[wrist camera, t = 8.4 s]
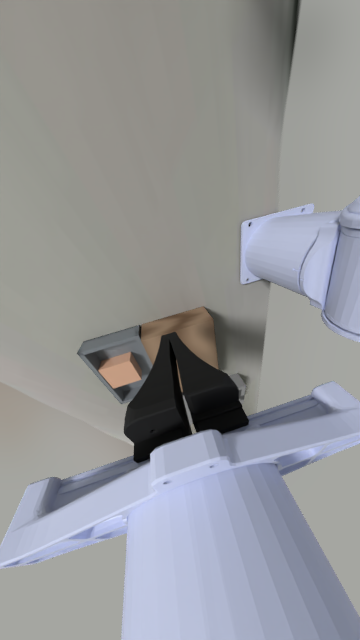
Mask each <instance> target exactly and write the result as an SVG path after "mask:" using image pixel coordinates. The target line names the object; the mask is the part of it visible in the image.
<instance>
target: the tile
mask: <svg viewBox="0 0 360 640" xmlns="http://www.w3.org/2000/svg"><path fill="white" fill-rule="evenodd" d="M98 371H99V373H100V374H101V375H102V376H103V377H104V378H105V379H106V381H107V382H108V383H109V384H110V385H111V386H112V388H113V389H114V388H117V387H120V386H123V385H126V384H129V383H132V382H136V381H139V380H142V370H141V368H140V366H139V365H138V363H137V361H136V360H135V358H134V356H133V355H132V353H131V352H128V353H125V354H122V355H119V356H115V357H112V358H109V359H106V360H103V361H101V363H100V366H99V369H98Z"/></svg>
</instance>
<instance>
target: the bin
mask: <svg viewBox="0 0 360 640" xmlns="http://www.w3.org/2000/svg"><path fill="white" fill-rule="evenodd" d="M128 352H131V353H132V355H133V356H134V358H135V360H136V361H137V363H138V365H139V366H140V368H141V370H142V380H139V381H136V382H132V383H129V384H126V385H123V386H120V387H117V388H114V389H113V388H112V386H111V385H110V384H109V383H108V382H107V381H106V379H105V378H104V377H103V376H102V375H101V374H100V373H99V371H98V369H99V366H100V363H101V361H103V360H106V359H109V358H112V357H115V356H119V355H122V354H125V353H128ZM77 354H78V355H79V356H80V357H81V359H82V360H83V361H84V362H85V363H86V364H87V366H88V367H89V368H90V369H91V370H92V371H93V372H94V374H95V375H96V376H97V377H98V378H99V379H100V380H101V382H102V383H103V384H104V385H105V386H106V387H107V389H108V390H109V391H110V392H111V393H112V394H113V395H114V397H115V398H116V399H117V400H118V401H119V402H120V403H121V404H123V403H127V402H130V401H132V399H133V398H134V397H135V395H136V394H137V393H138V391H139V390H140V388H141V387H142V385H143V383H144V382H145V380H146V378H147V377H148V375H149V373H150V371H151V369H152V366H153V365H152V363H151V361H150V358H149V356H148V354H147V352H146V350H145V348H144V346H143V344H142V342H141V328H140V326H139V325H138V326H135V327H132V328H128V329H125V330H121V331H118V332H115V333H111V334H108V335H104V336H101V337H98V338H94V339H91V340H87V341H84V342H83V343H82V345H81V347H80V349H79V351H78V352H77Z"/></svg>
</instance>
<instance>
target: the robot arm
mask: <svg viewBox="0 0 360 640" xmlns="http://www.w3.org/2000/svg"><path fill="white" fill-rule="evenodd" d="M301 210H302V212H301ZM313 210H314V204H307V205H303V206H300V207H296V208H292V209H288V210H285V211H281V212H277V213H273V214H270V215H266V216H262V217H258V218H255V219H251V220H247V221H244V222H243V223H242V225H241V264H240V283H241V284H247V283H250V282H254V281H257V280H261V279H265V280H268V281H270V282H272V283H275V284H277V285H280V286H282V287H284V288H287V289H289V290H292V291H294V292H297V293H299V294H301V295H304V296H306V297H308V298H309V299H310V305H312V306H314V307H317V308H319V309H321V310H322V313H321V317H322V320H323V322H324V324H325V325H326V326H327V327H328V328H329V329H331V330H332V331H333V332H335V333H337V334H339V335H341V336H343V337H346V338H348V339H351V340H353V341H357V342H360V196H359V197H358V198H357V199H356V200H354V201H353V202H352V203H351V204H349V205H348V206H346V207H345V208H344V209H343V210H340V211H331V212H320V213H313ZM249 223H250V227H249V226H248V225H249ZM247 279H248V280H247ZM246 280H247V281H246ZM176 360H177V362H176ZM177 364H178V368H177ZM178 369H179V374H180V379H181V384H182V390H183V394H184V397H185V400H186V402H187V405H188V408H189V410H190V414H191V418H192V422H193V424H194V427H195V429H196V432H197V433H195V434H192V431H191V427H190V423H189V419H188V415H187V412H186V408H185V404H184V399H183V395H182V391H181V387H180V382H179V375H178ZM124 434H125V435H126V436H127V437H128V438H129V439H130V440H131V441H132V442H133V443H134V455H133V456H130V457H127V458H124V459H121V460H118V461H115V462H113V463H110V464H107V465H104V466H101V467H98V468H95V469H92V470H89V471H86V472H83V473H80V474H78V475H75V476H72V477H69V478H66V479H63V480H61V479H60V478H57V477H50V478H46V479H43V480H40V481H37V482H35V483H31V484H30V485H28V487H27V489H26V491H25V493H24V495H23V498H22V500H21V502H20V505H19V506H18V509H17V511H16V513H15V515H14V518H13V520H12V522H11V524H10V526H9V528H8V531H7V533H6V535H5V537H4V539H3V541H2V544H1V546H0V569H2V568H9V567H16V566H24V565H31V564H36V563H39V562H42V561H44V560H47V559H50V558H53V557H55V556H58V555H61V554H64V553H67V552H70V551H73V550H76V549H79V548H82V547H85V546H88V545H92V544H94V543H98V542H101V541H104V540H107V539H110V538H114V537H117V536H120V535H122V534H126V533H127V548H126V566H125V583H124V601H123V617H122V635H121V640H360V617H359V615H358V614H357V612H356V610H355V609H354V606H353V605H352V603H351V601H350V599H349V597H348V595H347V594H346V592H345V590H344V588H343V586H342V585H341V583H340V581H339V579H338V577H337V576H336V574H335V572H334V570H333V568H332V567H331V565H330V563H329V561H328V559H327V558H326V556H325V554H324V552H323V551H322V549H321V547H320V545H319V543H318V542H317V539H316V538H315V536H314V534H313V532H312V530H311V529H310V527H309V525H308V523H307V522H306V520H305V518H304V516H303V514H302V513H301V511H300V509H299V507H298V505H297V504H296V502H295V500H294V498H293V496H292V494H291V493H290V491H289V489H288V487H287V485H286V484H285V482H284V480H283V478H282V476H283V475H286V474H288V473H290V472H293V471H295V470H297V469H300V468H302V467H304V466H306V465H309V464H311V463H314V462H316V461H318V460H321V459H323V458H325V457H327V456H330V455H332V454H335V453H337V452H340V451H342V450H345V449H347V448H350V447H352V446H355V445H358V444H360V401H358V400H357V399H356V398H355V397H353V396H352V395H351V394H350V393H348V392H347V391H346V390H345V389H343V388H342V387H341V386H339V385H338V384H337V383H336V382H334V381H331V382H328V383H325V384H322V385H319V386H317V387H315V388H314V389H313V390H312V392H311V395H308V396H305V397H302V398H299V399H296V400H293V401H290V402H287V403H285V404H282V405H279V406H276V407H273V408H270V409H267V410H264V411H261V412H259V413H255V414H252V415H250V416H246V414H245V412H244V410H243V409H242V404H241V403H240V401H239V389H238V387H237V385H236V384H235V383H234V381H233V380H232V379H231V378H230V377H229V376H228V374H227V373H224V372H222V371H220V370H218V369H216V368H215V367H213V366H211V365H209V364H208V363H206V362H205V361H203V360H202V359H200V358H199V357H198V356H197V355H195V354H194V353H193V352H192V351H191V350H190V349H189V348H188V347H187V346H186V345H185V344H184V343H183V342H182V341H181V339H180V338H179V336H178V335H177V333H176V332H172V333H169V334H165V335H162V336H161V340H160V345H159V349H158V353H157V356H156V359H155V361H154V364H153V366H152V369H151V371H150V373H149V375H148V377H147V378H146V380H145V382H144V383H143V385H142V387H141V388H140V390H139V391H138V393H137V394H136V395H135V397H134V398H133V399H132V401H131V402H130V403H129V405H128V407H127V411H126V416H125V424H124Z"/></svg>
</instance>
